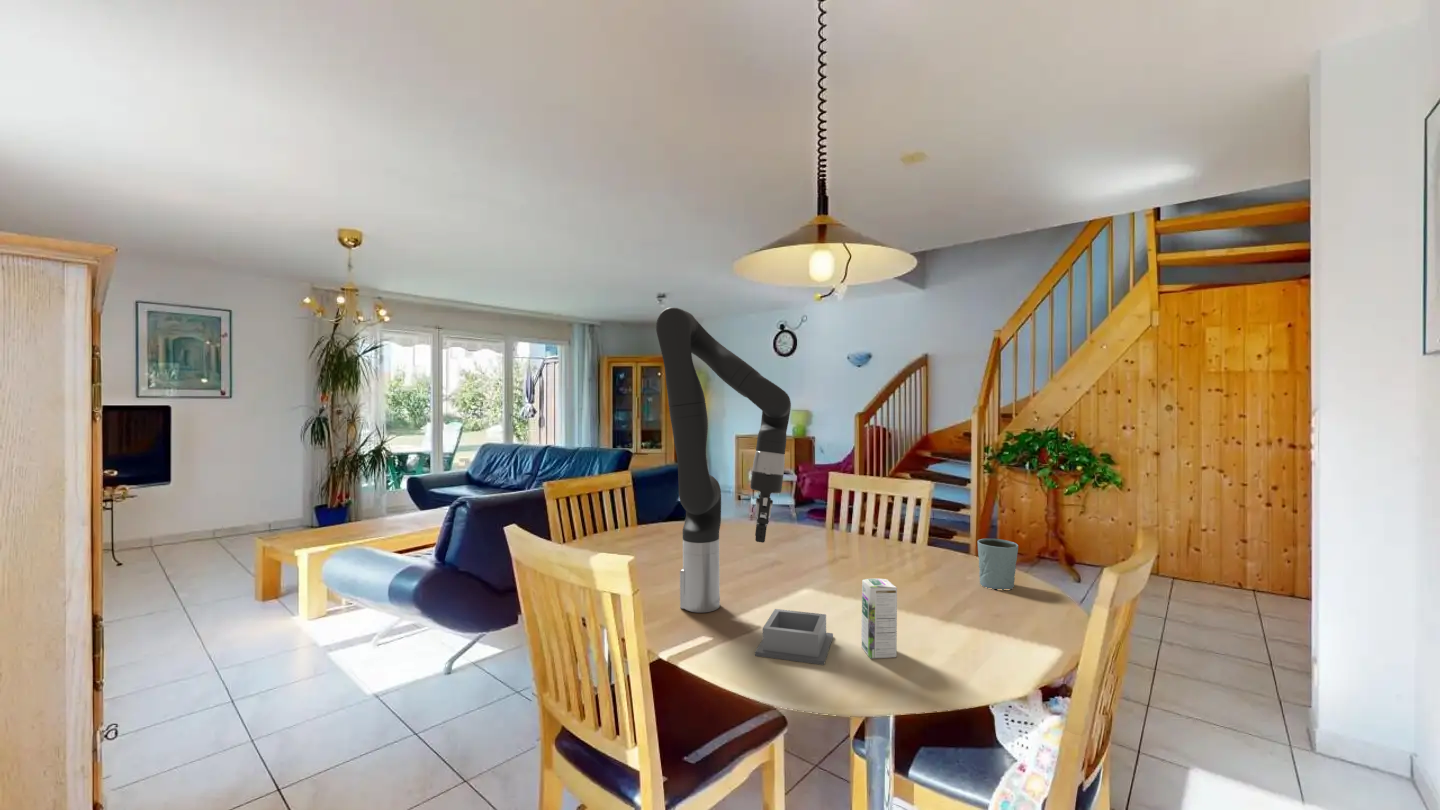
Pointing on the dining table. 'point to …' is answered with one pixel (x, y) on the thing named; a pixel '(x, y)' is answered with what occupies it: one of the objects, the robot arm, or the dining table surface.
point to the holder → (795, 637)
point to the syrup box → (879, 618)
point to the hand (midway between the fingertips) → (759, 539)
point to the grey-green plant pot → (997, 563)
